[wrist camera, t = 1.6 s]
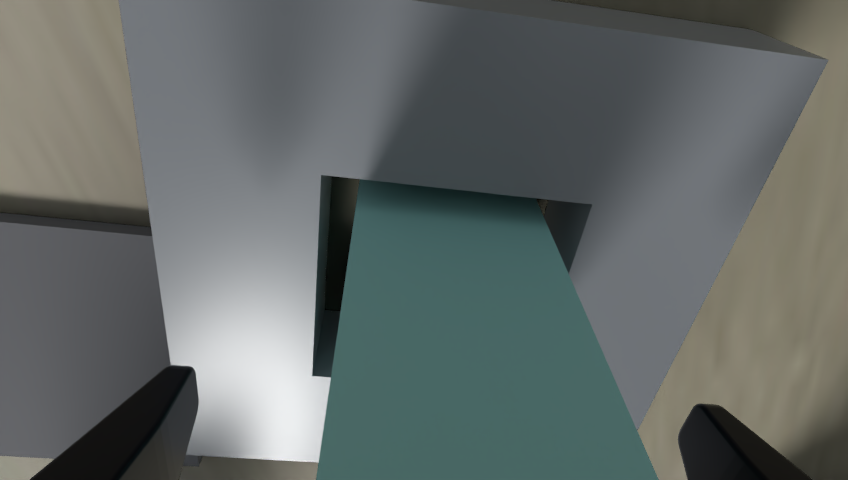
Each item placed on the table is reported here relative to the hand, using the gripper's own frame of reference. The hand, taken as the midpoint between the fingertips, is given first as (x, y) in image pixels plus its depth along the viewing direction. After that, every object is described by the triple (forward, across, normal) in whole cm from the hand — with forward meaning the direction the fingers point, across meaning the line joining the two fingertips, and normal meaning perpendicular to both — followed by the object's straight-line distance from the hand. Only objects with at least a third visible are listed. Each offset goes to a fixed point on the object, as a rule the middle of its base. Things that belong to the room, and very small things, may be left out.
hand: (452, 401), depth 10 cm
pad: (+5, +11, +5) cm, 13 cm away
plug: (+5, 0, 0) cm, 5 cm away
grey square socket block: (+5, 0, 0) cm, 5 cm away
